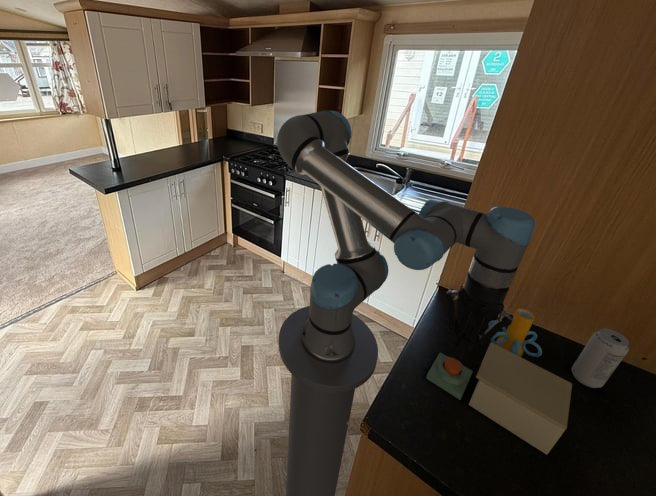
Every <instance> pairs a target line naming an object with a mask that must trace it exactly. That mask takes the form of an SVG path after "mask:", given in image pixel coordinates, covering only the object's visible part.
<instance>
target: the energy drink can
mask: <svg viewBox="0 0 656 496" xmlns="http://www.w3.org/2000/svg"><path fill="white" fill-rule="evenodd" d="M629 344H630V341H629V340H628V339H627V337H625V336H624V335H623V334H621V333H620V332H618V331H616V330H613V329H610V328H601V329H599V330H598V331H594V332H593V333H592V335H591V337H590V338H589V340H588V341H587V343H586V344H585V346H584V348H582V351H581V352H580V354H579V355H578V357H577V359H576V360H575V362H574V363H573V364H572V366H571V372H572V375H573V377H574V378H575V380H577V382H578V383H580V384H582V385H583V386H585V387H589V388H592V389H598V388H600V389H601V388H603V387H604V385H606V383H607V382H608V380H609V379H610V377H611V376H612V375H613V373H614V372H615V370H616V369H617V368H618V366H619V365H620V364H621V362H622V361H623V360H624V358H625V357H626V356H627V354H628V353H629V351H630V348H629Z"/></svg>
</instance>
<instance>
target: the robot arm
mask: <svg viewBox="0 0 656 496" xmlns="http://www.w3.org/2000/svg"><path fill="white" fill-rule="evenodd" d="M352 136H353V130H352V126H351V123H350V121H349V120H348V119H347V117H346V116H345V115H343V114H342V113H340V112H339V111H336V110H320V111H316V112H312V113H305V114H299V115H298V114H297V115H294V116H292V117H290V118H288V119H287V120H285V122H283V124H282V125H281V127H280V129H279V131H278V133H277V142H276V143H277V144H276V145H277V150H278V152H279V154H280V157H281V158H282V160H283V161H284V162H285V164H287V165H288V166H289V167H290V168H291V169H292V170H293V171H294V172H296V173H297V174H299V175H306V176H308V177H309V178H310V179H312V180H313V181H314V182H315V183H317V184H318V185H319V186H320V189H321V194H322V196H323V200H324V203H325V207H326V211H327V214H328V218H329V221H330V225H331V229H332V231H333V235H334V238H335V242H336V245H337V249H336V252H335V253H334V257H335V261H336V263H333V264H330V263H328V264H324V265H322V266H320V267H319V268H318V269H317V270H316V271H315V272H314V273H313V276H312V278H311V282H310V287H309V294H310V295H309V306H310V308H309V317H307V320H306V322H305V324H304V325H303V327H302V331H301V342H302V345H303V347H304V349H305V350H306V352H307V353H308V354H309V355H310V356H312V357H313V358H315V359H317V360H319V361H322V362H325V363H338V362H342V361H344V360H346V359H347V358H349V357H350V356H351V354H352V353H353V350H354V346H355V336H354V333H353V330H352V326H351V321H352V315H353V314H354V311H355V310H356V308H357V307H359V306H360V305H361V304H362V303H363V302H364V301H365V300H367V299H368V298H369V297H370V296H371V295H372V294H373V293H375V292H376V291H378V290H379V289H380V288H381V287H382V286H383V285H384V283H385V282H386V281H387V279H388V276H389V264H388V261H387V259H386V257H385V256H384V255H383V254H381V252H380V251H379V250H377V249H376V246H375V244H373V243H371V242H369V241H368V238H367V234H366V230H365V227H364V223H363V220H364V221H365V222H366V223H367V224H368V225H370V226H371V227H372V228H374V229H375V230H376V231H378V232H379V233H380V234H381V235H383V236H384V237H385V238H386V239H388V240H389V241H390V242H392V243H393V252H394V255H395V256H396V258H397V260H398V262H400V263H401V265H402V266H405V267H406V268H408V269H410V270H413V271H424V270H427V269H429V268H430V267H431V266H433V265H434V264H436V263H437V262H439V261H441V260H442V258H443V257H444V255H445V254H446V253H447V252H448V251H449V250H450V249H451V248H452V247H453V246H454V245H455V244H456V243H457V244H460V245H461V246H462V245H463V246H465V247H468V248H472V249H474V250H475V251H474V254H473V256H472V259H471V263H470V266H469V268H468V272H467V274H466V277H465V280H464V283H463V285H462V287H460V288H459V289H458V290H457V289H456V290H455V289H454V288H449V289H448V291H446V293H445V297H446V300H447V302H448V329H449V330H450V331H453V332H454V333H455V336H454V339H453V342H452V343H453V344H454V345H455V346H456V349H455V352H454V354H453V358H454V359H456V360H458V361H459V362H461V360H462V359H463V357H464V354H465V353H466V351H467V352H468V353H470V352H471V351H472V350H473V347H474V346H475V344H479V346H481V347H484V346H486V344H487V343H488V342H489V341H491V338H492V337H493V336H494V335H495V334H496V333H497V332H500V331H501V329H502V328H503V327H505V328H507V327H508V326H509V325H511V323H512V320H513V318H514V317H513V315H514V314H511V313H507V311H505V304H504V302H505V299H506V297H507V295H508V292H509V290H510V286H512V283H513V281H514V279H515V276H516V274H517V271H518V269H519V267H520V265H521V264H520V263H521V262H522V260H523V258H524V255H525V253H526V251H527V249H528V247H529V244H530V243H531V240H532V236H533V233H534V231H535V228H536V221H535V218H534V217H533V216H532V215H531V214H529V213H528V212H526V211H524V210H521V209H518V208H514V207H507V206H494V207H492V208H490V210H489V211H488V213H486V212H481V211H477V210H474V209H470V208H467V207H464V206H461V205H458V204H455V203H451V202H449V201H446V200H439V199H435V198H431V199H428V200H426V201H425V202H424V204H423V206H422V207H421V208H420V210H419V213H418V212H417V211H415V210H413V208H411V207H409V206H408V205H406V204H405V203H404V202H402V201H401V200H400V199H398V198H397V197H396V196H394V195H392V194H391V193H389V191H387V190H385V189H384V188H382V187H381V186H380V185H378V184H377V183H375V182H374V181H372V180H371V179H369V178H368V177H367V176H365V175H364V174H362V173H361V172H360V171H359V170H357V169H355V168H354V167H353V166H351V165H350V164H349V163H347V160H348V158H349V157H350V149H349V145H350V143H351V140H352ZM459 299H460V301H461V303H462V305H463V308H464V311H463V314H462V317H461V320H460V322H459V318H458V317H459V315H458V313H459V312H458V311H459V306H458V303H459V301H458V300H459ZM472 314H474V315H476V319H475V322H474V324H473V327H472V329H471V332H470V333H468V332H466V329H467V326H468V324H469V321H470V318H471V316H472ZM496 315H497V318H496V320H494V321H495V322H494V323H493V324H492V325H491V326H490V327H489V326H488V328H487V329H486V330H484V331H483V333H482V334H480V332H481V331H480V330H481V329H482V327H483V324H484V321H485V320H486V319H485V318H490V317H493V316H496ZM458 322H459V323H458ZM502 330H503V329H502Z"/></svg>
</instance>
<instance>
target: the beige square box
mask: <svg viewBox="0 0 656 496" xmlns="http://www.w3.org/2000/svg"><path fill="white" fill-rule="evenodd" d="M468 406H470V407H471V408H473V409H474V410H476V411H478V413H480V414H482V415H484V416H486V417H487V418H488V419H490V420H492V421H493V422H495V423H496V424H498V425H499V426H501V427H503V428H504V429H506V430H507V431H509V432H510V433H512V434H513V435H515V436H517V438H519V439H522V440H523V441H525V442H526V443H527V444H529V445H531V446H532V447H533V448H535V449H537V450H538V451H540V452H542V453H543V454H545V455H546V456H547V455H548V454H550V452H551V450H552V449H554V448H553V447H554V446H555V445H556V444H557V442H558V441H559V439H560V438H561V437H562V436H563V434H564V433H565V431H566V430H564V429H562V428H561V427H559V426H557V425H556V424H554V423H552V422H551V421H549V420H547V419H545V418H544V417H542V416H540V415H539V414H537V413H535V412H534V411H532V410H530V409H528V408H527V407H525V406H523V405H522V404H520V403H518V402H517V401H515V400H513V399H512V398H510V397H508V396H506V395H505V394H503V393H501V392H500V391H498V390H496V389H495V388H493V387H491V386H489V385H488V384H486V383H484V382H483V381H481V380H479V379H477V382H476V385H475V388H474V390H473V393H472V395H471V397H470V400H469V402H468Z"/></svg>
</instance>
